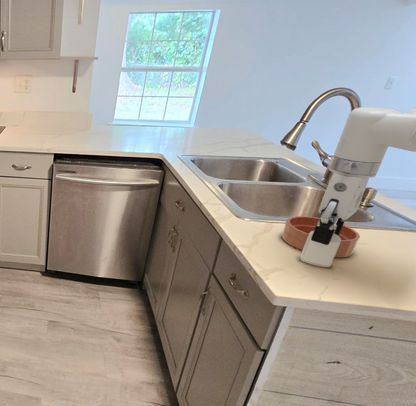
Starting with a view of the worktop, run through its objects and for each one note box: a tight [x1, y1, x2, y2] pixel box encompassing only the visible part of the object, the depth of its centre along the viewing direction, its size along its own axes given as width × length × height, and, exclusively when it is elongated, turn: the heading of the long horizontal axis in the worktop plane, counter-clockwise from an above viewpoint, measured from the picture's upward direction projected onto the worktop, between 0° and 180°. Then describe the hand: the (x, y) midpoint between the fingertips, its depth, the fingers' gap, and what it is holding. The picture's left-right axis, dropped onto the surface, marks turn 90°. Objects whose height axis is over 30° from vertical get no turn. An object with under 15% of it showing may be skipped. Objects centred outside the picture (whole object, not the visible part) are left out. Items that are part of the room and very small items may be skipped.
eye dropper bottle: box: [299, 218, 341, 268], centre depth 87 cm, size 4×6×12 cm
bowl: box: [281, 215, 361, 258], centre depth 96 cm, size 14×14×5 cm
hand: (324, 237), depth 87 cm, fingers open, 5 cm apart
